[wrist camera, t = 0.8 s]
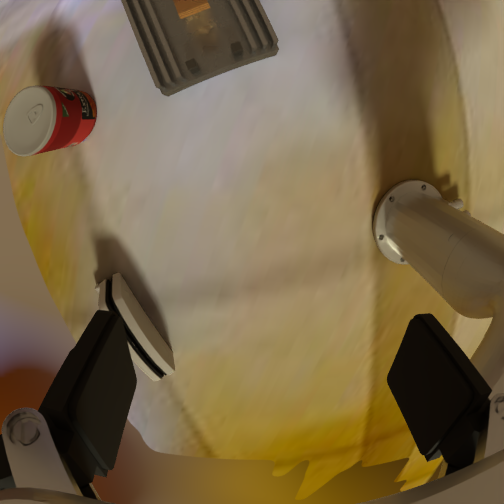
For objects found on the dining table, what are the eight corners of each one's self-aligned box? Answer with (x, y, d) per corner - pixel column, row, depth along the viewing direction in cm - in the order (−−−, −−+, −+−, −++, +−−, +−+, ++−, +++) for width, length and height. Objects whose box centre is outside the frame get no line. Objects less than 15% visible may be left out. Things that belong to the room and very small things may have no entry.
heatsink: (227, -43, 25) (225, -64, 19) (276, 55, 31) (282, 42, 26) (127, -3, 26) (112, -19, 21) (168, 96, 33) (155, 91, 27)
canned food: (109, 110, 33) (65, 109, 23) (75, 157, 35) (28, 171, 25) (75, 80, 30) (27, 72, 20) (44, 126, 33) (-6, 132, 22)
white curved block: (94, 282, 42) (85, 309, 33) (119, 267, 43) (115, 292, 34) (149, 360, 48) (154, 397, 39) (172, 348, 49) (181, 384, 40)
